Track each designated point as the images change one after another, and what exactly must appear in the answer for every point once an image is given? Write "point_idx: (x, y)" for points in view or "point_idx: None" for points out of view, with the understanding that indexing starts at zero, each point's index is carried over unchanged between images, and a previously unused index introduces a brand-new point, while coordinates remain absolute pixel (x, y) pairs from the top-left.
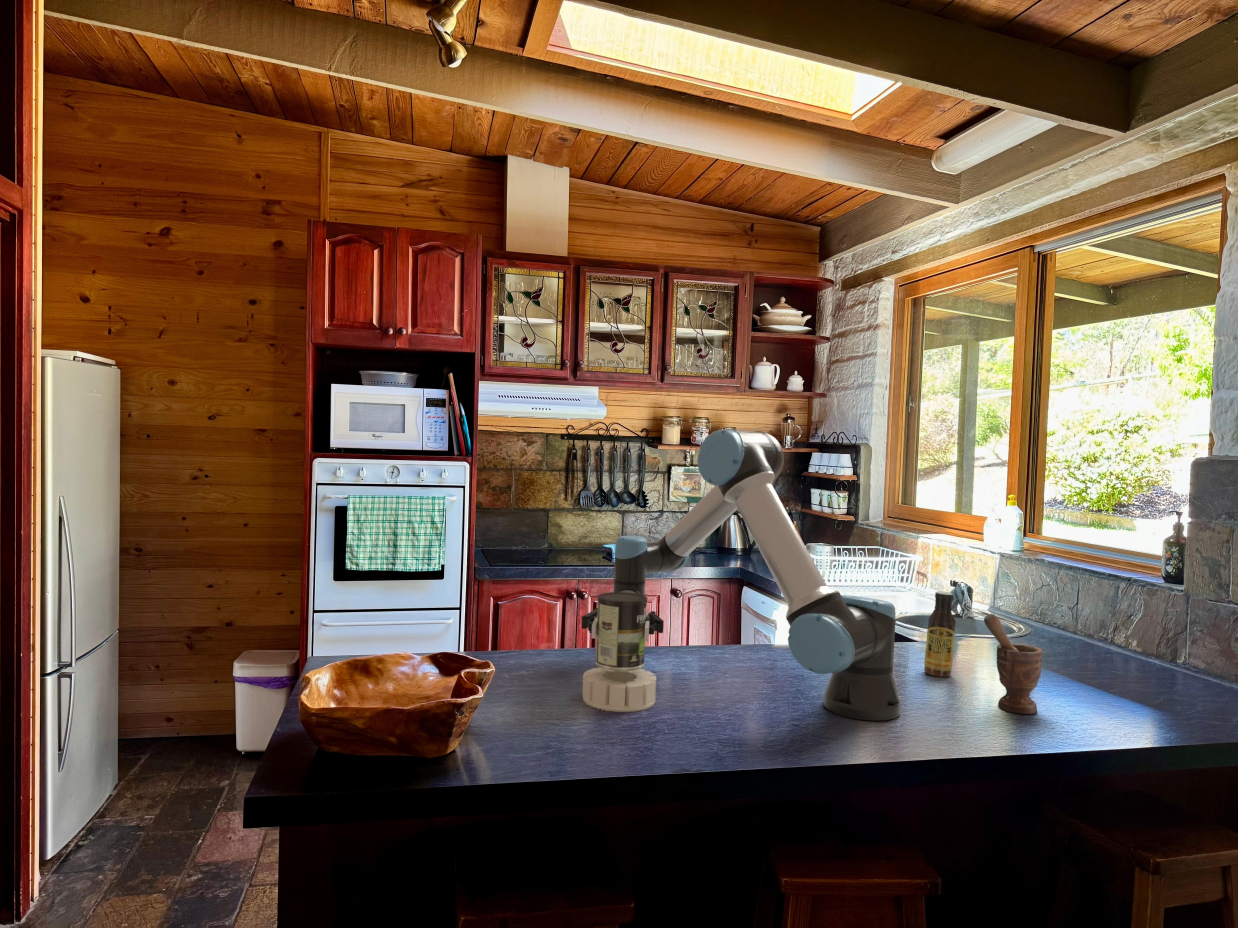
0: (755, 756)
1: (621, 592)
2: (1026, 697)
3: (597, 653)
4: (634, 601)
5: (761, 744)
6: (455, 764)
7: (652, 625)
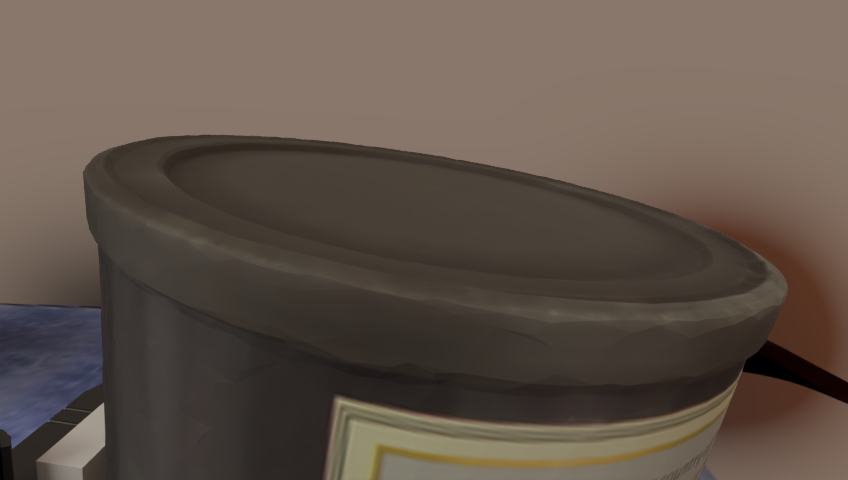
0: (98, 336)
1: (502, 295)
2: None
3: None
4: (339, 144)
5: (18, 370)
6: None
7: (52, 442)
